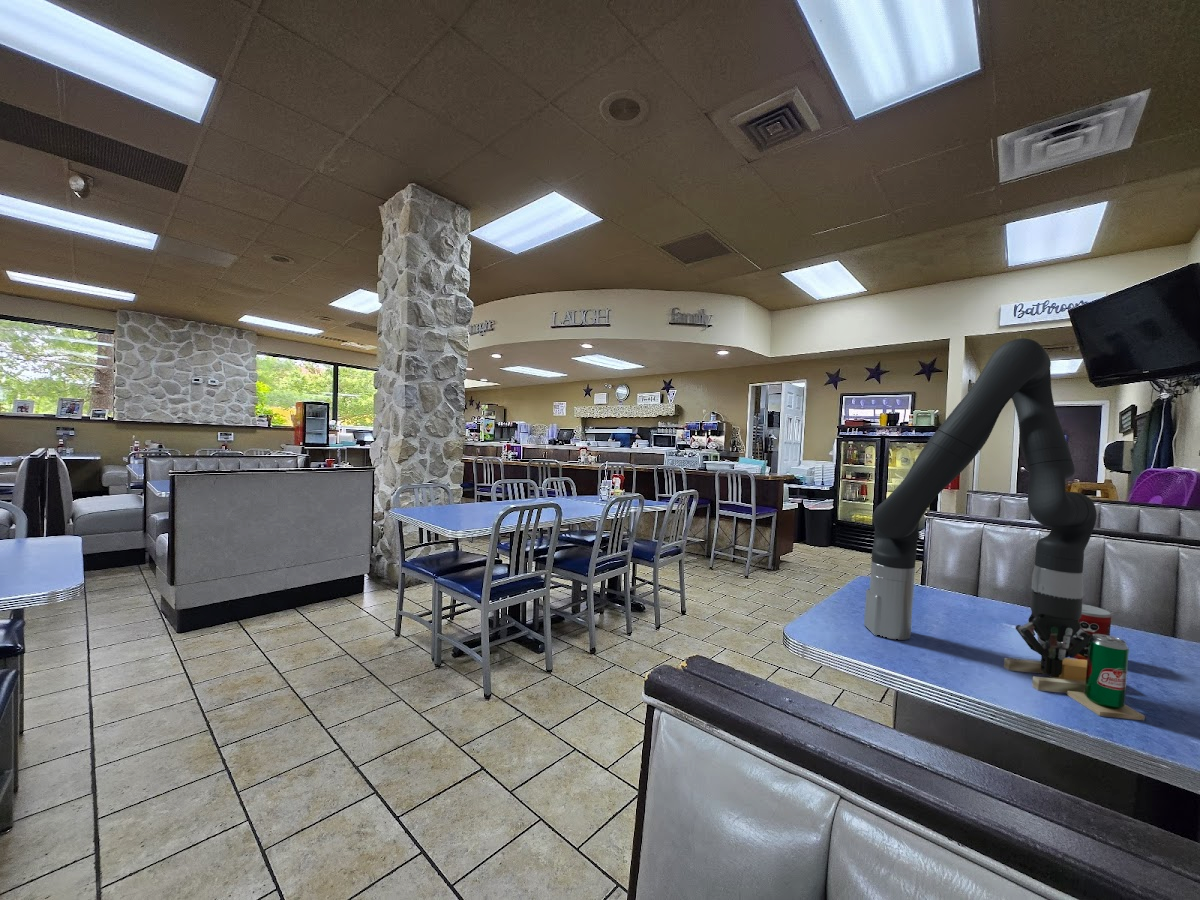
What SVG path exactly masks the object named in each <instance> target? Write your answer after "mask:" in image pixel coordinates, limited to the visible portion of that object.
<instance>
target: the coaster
mask: <svg viewBox="0 0 1200 900" xmlns="http://www.w3.org/2000/svg"><path fill="white" fill-rule="evenodd" d="M1066 695H1067V696H1068V697H1070V698H1071V699H1073V700H1074V701H1075V702H1077V703H1079V704H1081V705H1082V706H1084V707H1085V708H1087V709H1088V710H1090V711H1091V712H1093V713H1094V714H1095V715H1097V716H1099V717H1108V718H1116V719H1117V718H1118V719H1126V720H1127V719H1128V720H1136V721H1137V720H1138V721H1145V718H1146V717H1145V715H1144V714H1142V713H1141V712H1139V711H1137V710H1136V709H1133V708H1132V707H1130V706H1128V705H1127V704H1125V703H1124V706H1123V707H1122V708H1120V709H1112V708H1107V707H1104V706H1101V705H1098V704H1096V703H1094V702H1092V701H1090V700H1089V699H1088V698H1087V697H1086V696H1085V692H1075V691H1067V693H1066Z"/></svg>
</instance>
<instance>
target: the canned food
mask: <svg viewBox="0 0 1200 900" xmlns="http://www.w3.org/2000/svg"><path fill="white" fill-rule="evenodd" d="M1079 623H1080V624H1081V629H1082V630H1083V631H1085V632H1086V633H1088V634H1090V635H1092V634H1104V635H1109V636H1111V628H1112V627H1111V625H1112V613H1111V612H1110V611H1108V610H1106V609H1104V608H1101V607H1097V606H1093V605H1088V604H1084V603H1082V615H1081V618H1080V619H1079ZM1087 657H1088V645H1087V646H1085V647H1084V648H1083V649H1082V650H1081V651H1080V652H1079V653H1078V654H1077V655H1076V656H1075V657H1074V658H1073V659H1082V660H1087Z"/></svg>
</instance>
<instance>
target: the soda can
mask: <svg viewBox="0 0 1200 900" xmlns="http://www.w3.org/2000/svg"><path fill="white" fill-rule="evenodd" d="M1129 651H1130V648H1129V647H1128V645H1127V642H1126V641H1125V640H1123V639H1121V638H1119V637H1116V636H1112V635H1110V636H1109V635H1104V634H1092V637H1091V638H1090V639H1089V644H1088V657H1087V669H1086V682H1085V696H1086V697H1087V698H1088V699H1089V700H1090V701H1092V702H1094V703H1096V704H1098V705H1101V706H1104V707H1107V708H1112V709H1120V708H1122V707H1123V706H1124V704H1125V702H1126V701H1125V700H1126V689H1127V688H1126V687H1127V679H1128V677H1127V675H1128V663H1129Z"/></svg>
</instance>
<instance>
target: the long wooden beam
mask: <svg viewBox="0 0 1200 900" xmlns="http://www.w3.org/2000/svg"><path fill="white" fill-rule="evenodd" d="M1086 669H1087V660H1082V659H1076V658H1070V657H1067V658H1065V659H1064V660H1063V661H1062V673H1061V675H1059V677H1058V678H1057V677H1052V678H1056V679H1066V680H1077V681H1086Z"/></svg>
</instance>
